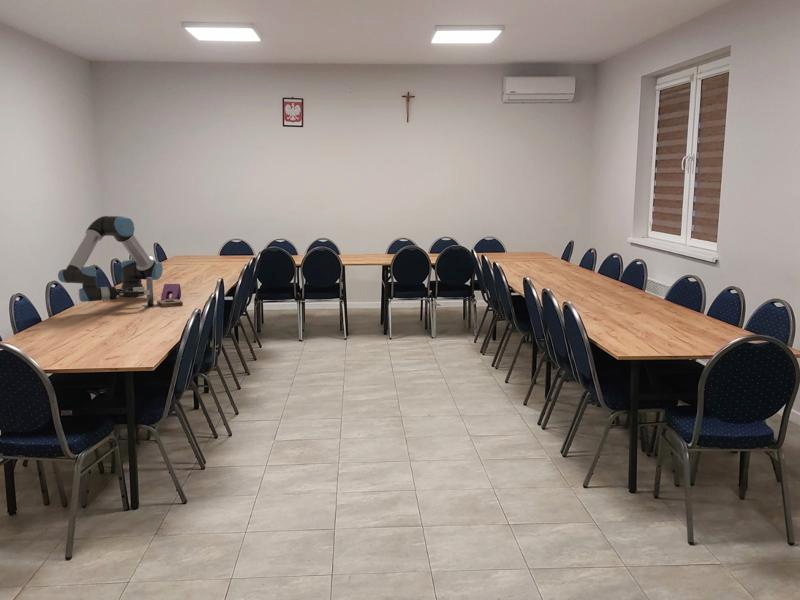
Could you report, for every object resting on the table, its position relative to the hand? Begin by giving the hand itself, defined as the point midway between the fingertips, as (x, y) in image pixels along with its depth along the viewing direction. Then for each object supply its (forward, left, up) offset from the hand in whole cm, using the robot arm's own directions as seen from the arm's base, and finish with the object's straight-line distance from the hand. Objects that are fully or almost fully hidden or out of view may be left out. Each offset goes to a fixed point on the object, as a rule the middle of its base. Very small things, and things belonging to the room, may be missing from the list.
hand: (147, 290), depth 425 cm
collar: (+1, +13, -10) cm, 16 cm away
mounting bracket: (-17, +18, -10) cm, 27 cm away
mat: (0, +2, -10) cm, 10 cm away
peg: (0, +2, -9) cm, 10 cm away
